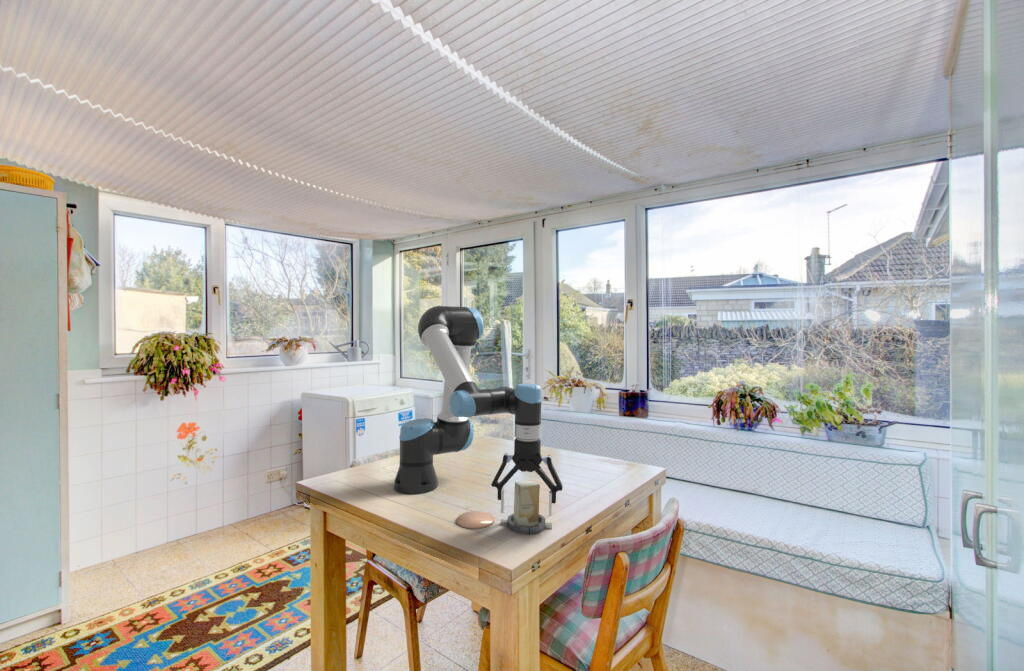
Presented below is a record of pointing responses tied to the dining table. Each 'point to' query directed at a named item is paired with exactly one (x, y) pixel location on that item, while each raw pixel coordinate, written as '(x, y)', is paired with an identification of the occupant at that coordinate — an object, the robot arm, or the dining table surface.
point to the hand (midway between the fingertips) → (526, 512)
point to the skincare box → (526, 503)
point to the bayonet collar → (526, 529)
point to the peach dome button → (475, 520)
